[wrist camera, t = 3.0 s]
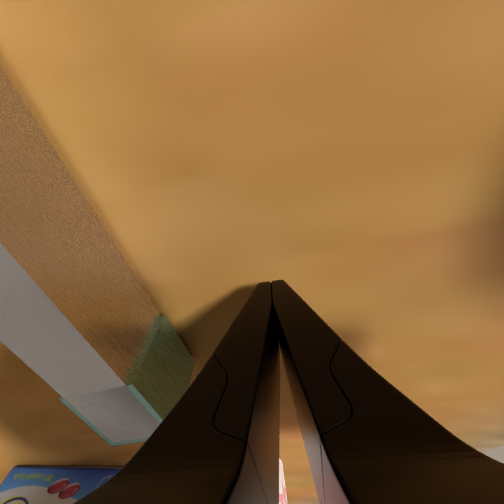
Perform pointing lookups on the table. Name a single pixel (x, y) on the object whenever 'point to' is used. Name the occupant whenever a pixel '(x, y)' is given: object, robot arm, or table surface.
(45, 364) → the bar
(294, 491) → the table surface
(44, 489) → the medicine box
